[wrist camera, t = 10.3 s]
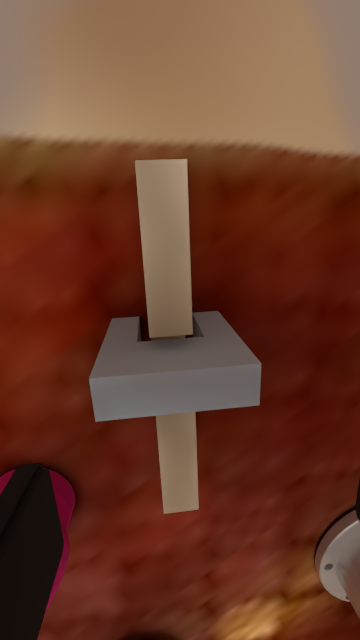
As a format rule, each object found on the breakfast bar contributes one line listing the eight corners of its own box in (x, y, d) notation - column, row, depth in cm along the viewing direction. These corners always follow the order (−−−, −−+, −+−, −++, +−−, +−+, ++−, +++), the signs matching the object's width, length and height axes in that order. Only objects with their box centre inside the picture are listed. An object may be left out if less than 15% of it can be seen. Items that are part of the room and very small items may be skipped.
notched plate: (218, 338, 20) (259, 405, 13) (115, 346, 20) (95, 421, 12) (218, 310, 20) (261, 363, 12) (112, 318, 19) (88, 378, 12)
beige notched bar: (173, 180, 17) (186, 159, 11) (186, 438, 23) (198, 509, 17) (139, 181, 17) (134, 160, 11) (159, 440, 23) (164, 513, 17)
